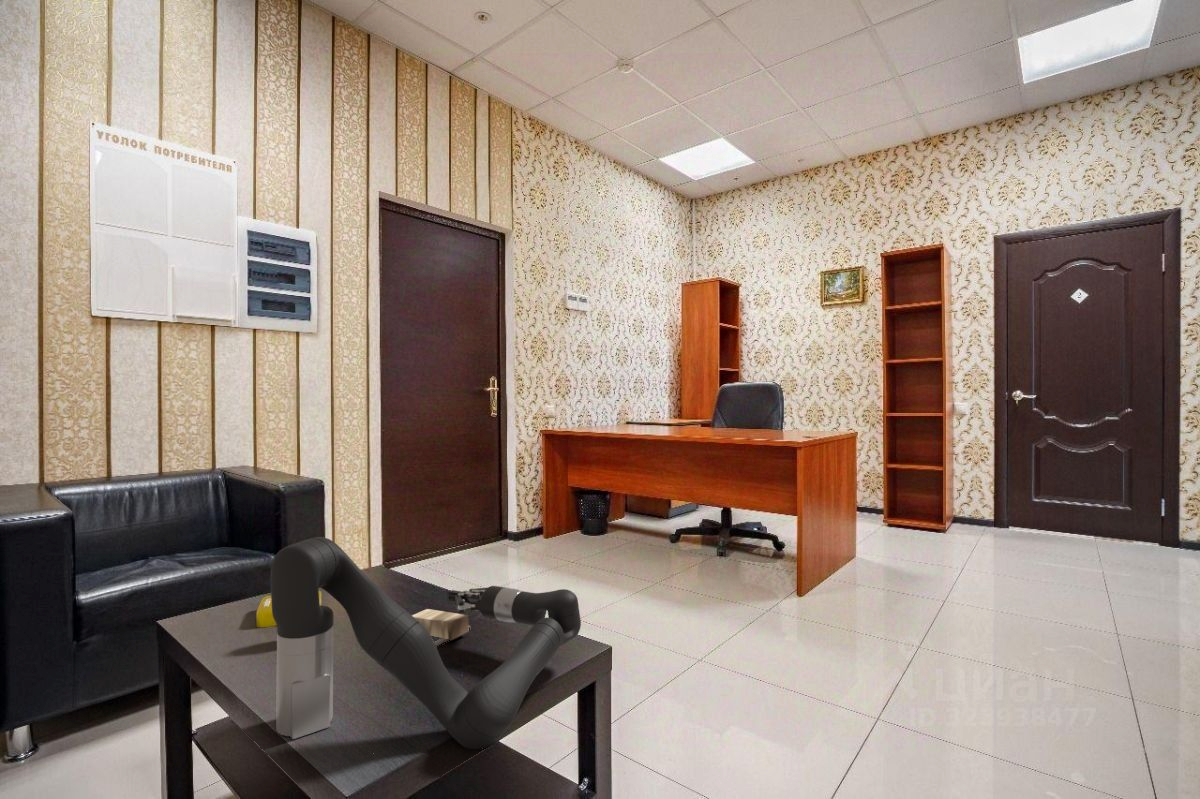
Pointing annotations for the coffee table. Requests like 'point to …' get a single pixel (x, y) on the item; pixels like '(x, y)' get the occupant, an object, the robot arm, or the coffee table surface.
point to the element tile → (268, 612)
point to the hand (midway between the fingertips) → (449, 595)
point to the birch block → (443, 623)
